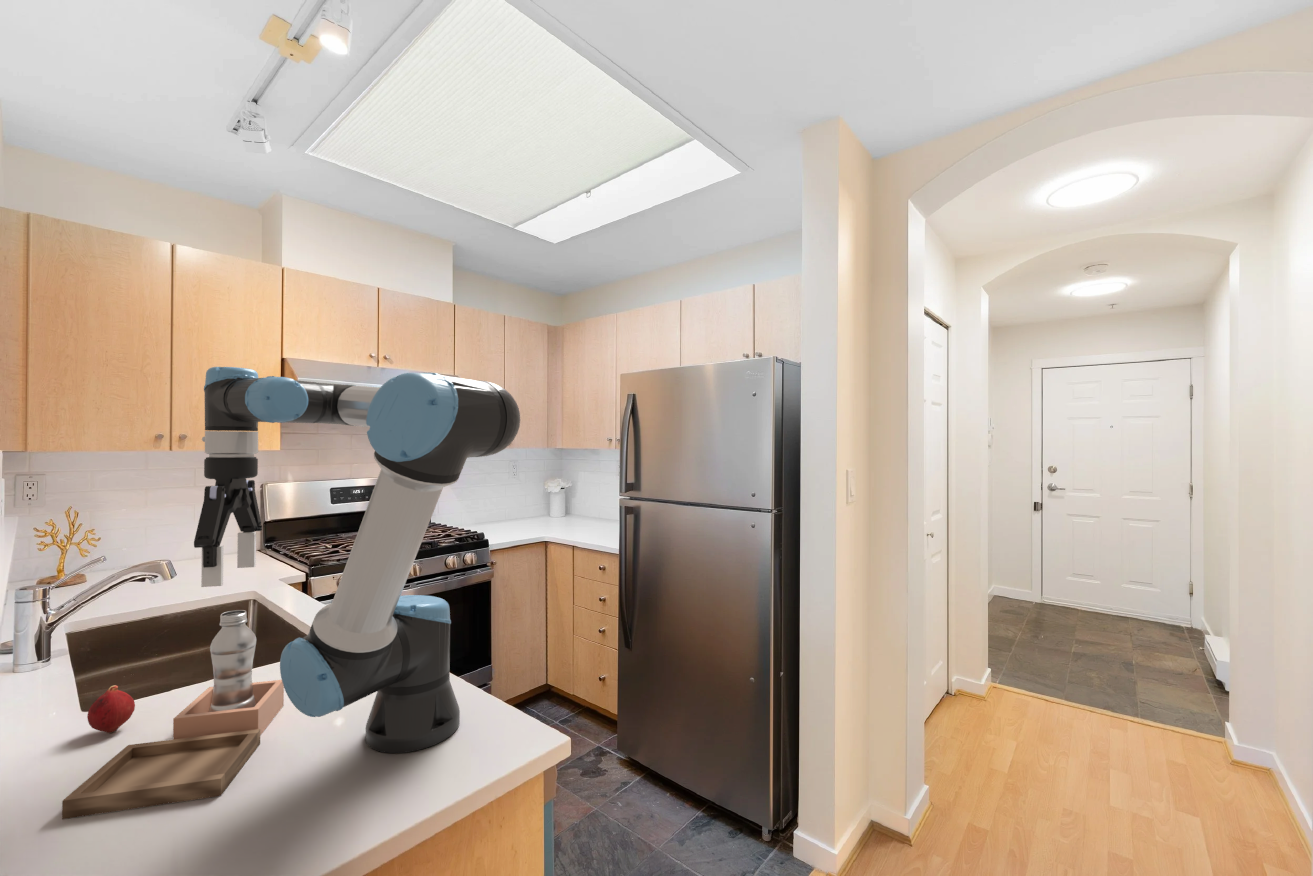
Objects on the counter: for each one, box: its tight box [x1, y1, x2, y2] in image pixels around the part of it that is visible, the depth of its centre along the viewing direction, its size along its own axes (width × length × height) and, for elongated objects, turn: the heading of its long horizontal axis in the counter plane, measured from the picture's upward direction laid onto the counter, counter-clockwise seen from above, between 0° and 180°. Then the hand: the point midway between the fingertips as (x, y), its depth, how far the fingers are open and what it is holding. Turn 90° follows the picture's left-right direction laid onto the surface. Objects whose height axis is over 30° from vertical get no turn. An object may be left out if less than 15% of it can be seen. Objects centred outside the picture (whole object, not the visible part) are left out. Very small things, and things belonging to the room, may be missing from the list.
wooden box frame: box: [172, 679, 285, 740], centre depth 99 cm, size 12×12×5 cm
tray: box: [61, 729, 261, 820], centre depth 84 cm, size 18×14×2 cm
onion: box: [86, 684, 136, 734], centre depth 96 cm, size 6×6×8 cm
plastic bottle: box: [209, 609, 257, 712], centre depth 99 cm, size 6×7×20 cm
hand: (230, 576), depth 98 cm, fingers open, 13 cm apart
